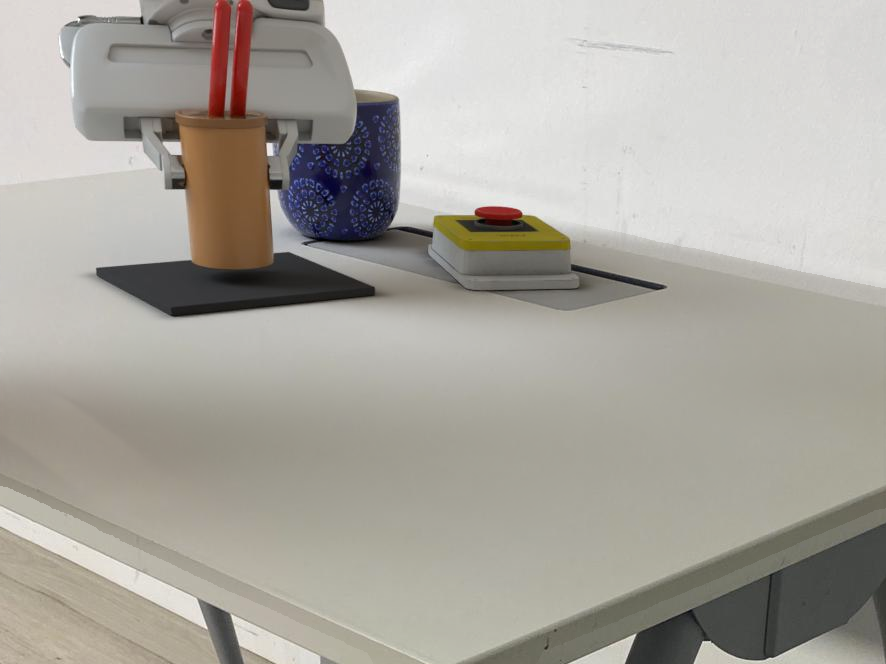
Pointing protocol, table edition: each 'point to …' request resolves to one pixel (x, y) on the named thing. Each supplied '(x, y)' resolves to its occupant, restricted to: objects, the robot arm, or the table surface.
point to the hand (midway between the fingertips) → (228, 184)
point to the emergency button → (502, 250)
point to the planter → (349, 176)
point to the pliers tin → (227, 159)
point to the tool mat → (232, 284)
